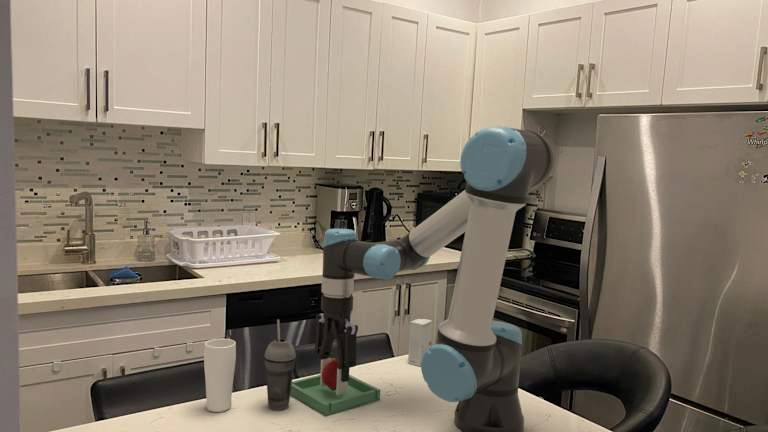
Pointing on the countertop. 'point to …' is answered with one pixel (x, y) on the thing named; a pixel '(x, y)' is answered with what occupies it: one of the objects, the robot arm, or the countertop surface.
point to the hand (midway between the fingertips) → (333, 389)
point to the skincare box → (419, 340)
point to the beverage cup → (279, 372)
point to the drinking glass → (219, 373)
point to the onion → (330, 374)
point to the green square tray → (333, 395)
